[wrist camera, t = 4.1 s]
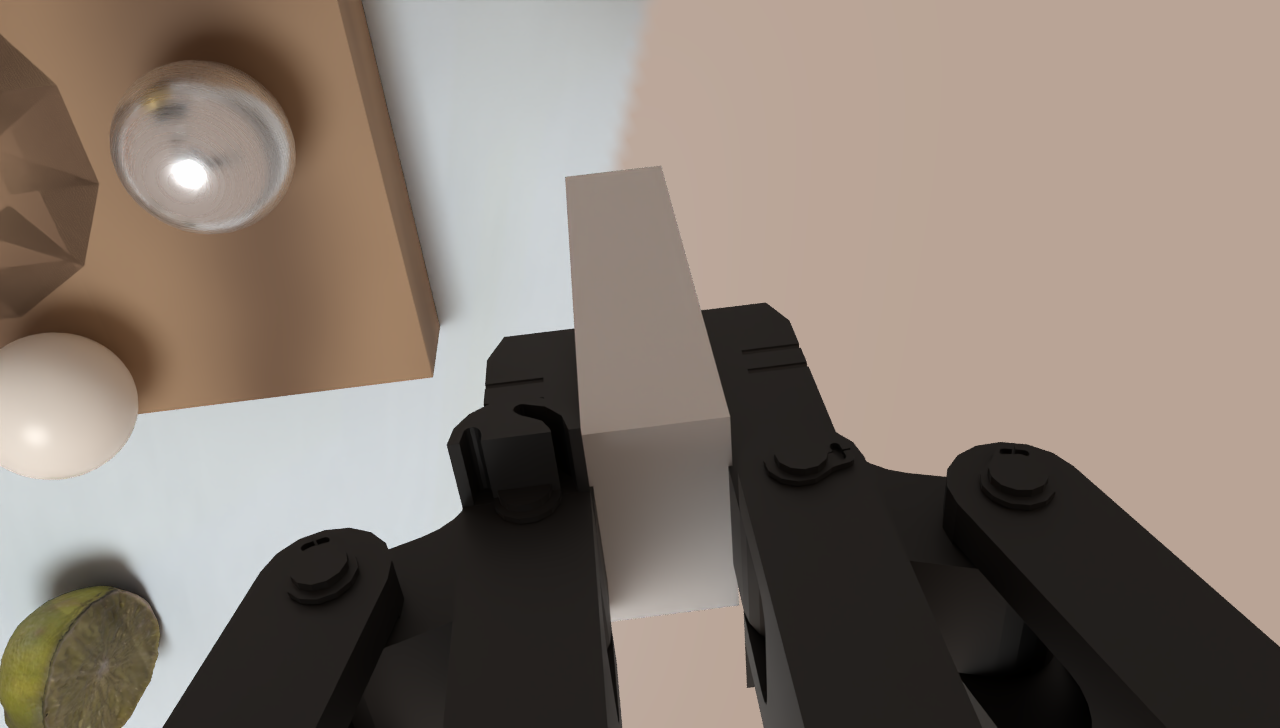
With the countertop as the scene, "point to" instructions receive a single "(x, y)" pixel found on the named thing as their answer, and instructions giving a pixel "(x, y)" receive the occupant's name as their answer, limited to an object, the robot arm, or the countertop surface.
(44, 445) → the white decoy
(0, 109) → the board
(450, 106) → the countertop surface
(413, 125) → the countertop surface
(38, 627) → the lime
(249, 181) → the steel ball
